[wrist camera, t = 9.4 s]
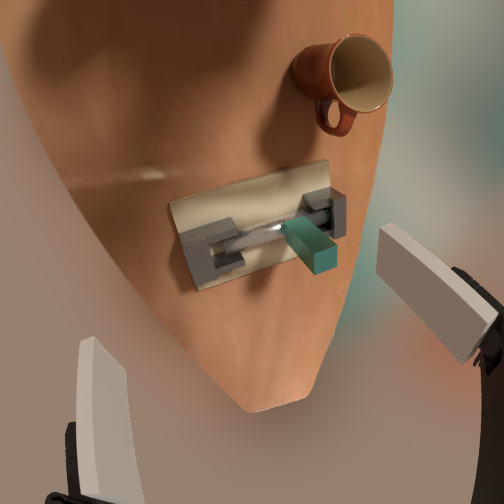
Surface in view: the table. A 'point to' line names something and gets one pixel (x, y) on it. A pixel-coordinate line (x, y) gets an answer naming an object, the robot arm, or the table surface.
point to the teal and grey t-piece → (291, 238)
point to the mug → (344, 79)
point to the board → (252, 211)
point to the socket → (335, 207)
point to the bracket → (199, 253)
